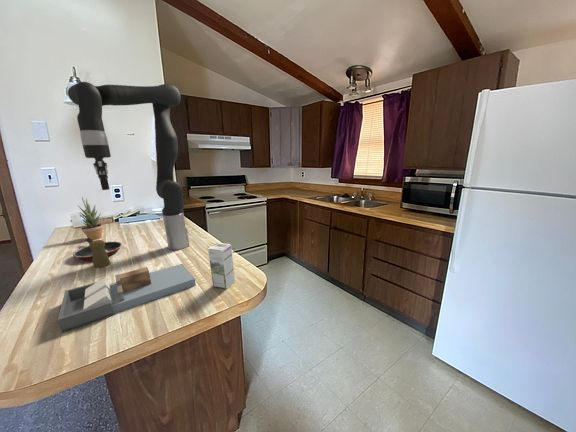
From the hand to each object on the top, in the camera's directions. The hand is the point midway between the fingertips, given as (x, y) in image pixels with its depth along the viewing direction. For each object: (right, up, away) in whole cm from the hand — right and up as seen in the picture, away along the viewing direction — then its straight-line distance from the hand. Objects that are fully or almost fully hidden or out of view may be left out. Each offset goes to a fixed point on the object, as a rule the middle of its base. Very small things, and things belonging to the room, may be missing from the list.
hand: (105, 188), depth 91 cm
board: (+23, -35, -8) cm, 43 cm away
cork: (-11, -32, +12) cm, 35 cm away
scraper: (+19, -34, -11) cm, 40 cm away
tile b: (+9, -36, -13) cm, 39 cm away
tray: (+9, -39, -18) cm, 43 cm away
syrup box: (+47, -35, -7) cm, 59 cm away
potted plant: (-42, -24, +47) cm, 68 cm away
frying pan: (-26, -28, +28) cm, 47 cm away
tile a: (+13, -37, -19) cm, 44 cm away
